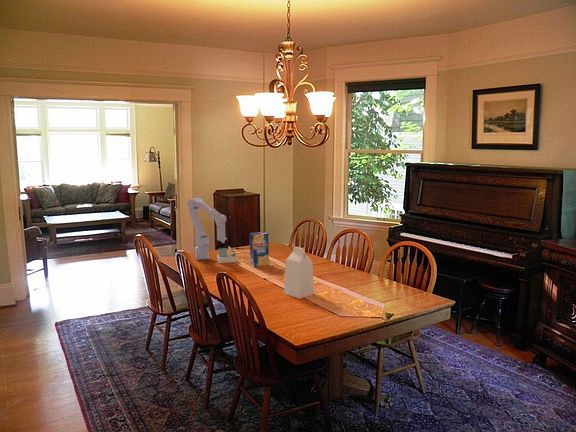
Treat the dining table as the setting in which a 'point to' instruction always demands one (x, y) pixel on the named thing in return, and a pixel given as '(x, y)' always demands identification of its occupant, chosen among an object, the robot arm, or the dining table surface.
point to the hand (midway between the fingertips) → (221, 251)
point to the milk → (298, 274)
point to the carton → (226, 258)
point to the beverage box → (259, 249)
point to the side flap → (232, 250)
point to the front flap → (222, 252)
